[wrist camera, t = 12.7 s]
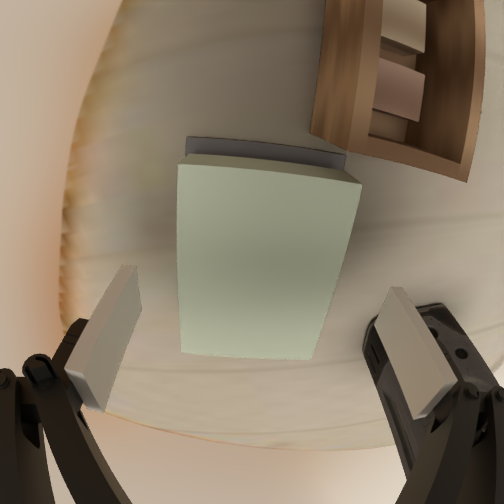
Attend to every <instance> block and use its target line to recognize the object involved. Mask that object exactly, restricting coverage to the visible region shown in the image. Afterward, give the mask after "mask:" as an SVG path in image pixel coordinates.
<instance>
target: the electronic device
mask: <svg viewBox="0 0 504 504" xmlns="http://www.w3.org/2000/svg"><path fill="white" fill-rule="evenodd" d="M417 311H418V313H419V314H420V316H421V317H422V319H423V321H424V322H425V324H426V325H427V327H428V329H429V330H430V332H431V334H432V335H433V337H434V339H436V338H438V339H439V340H440V341H441V342H442V343H443V344H444V345H445V347H446V349H447V350H448V352H449V354H450V356H451V357H452V361H454V363H455V364H456V366H457V368H458V370H459V372H460V373H461V375H462V377H463V379H464V381H465V382H470V383H473V384H474V385H476V386H477V388H478V389H479V391H482V392H489V391H490V390H491V389H492V388H493V387H494V386H499V384H498V382H497V380H496V379H495V377H494V375H493V374H492V372H491V371H490V369H489V367H488V366H487V364H486V363H485V361H484V360H483V358H482V357H481V355H480V354H479V352H478V351H477V349H476V348H475V346H474V345H473V343H472V342H471V340H470V339H469V337H468V336H467V335H466V333H465V332H464V330H463V329H462V328H461V326H460V325H459V323H458V322H457V321H456V319H455V318H454V317H453V315H452V314H451V313H450V311H449V310H448V309H447V307H446V306H444V305H435V306H430V307H424V308H419V309H417ZM375 322H376V320H374V321H373V322H372V324H371V325H370V327H369V329H368V332H367V336H366V340H365V344H364V347H363V355H364V357H365V360H366V362H367V365H368V368H369V370H370V373H371V375H372V378H373V381H374V383H375V386H376V389H377V391H378V394H379V397H380V400H381V402H382V405H383V408H384V411H385V414H386V417H387V420H388V422H389V425H390V428H391V431H392V434H393V437H394V440H395V443H396V446H397V449H398V453H399V456H400V459H401V463H402V466H403V469H404V472H405V476H406V479H408V477H409V475H410V472H411V470H412V468H413V466H414V463H415V461H416V458H417V456H418V454H419V451H420V448H421V446H422V443H423V441H424V438H425V435H426V432H427V429H428V427H429V424H428V425H427V426H426V427H425V428H423V426H424V425H425V424H426V423H427V422H428V421H429V420H430V419H431V418H432V417H433V416H434V411H433V410H432V411H431V412H430V413H429V414H428V415H427V416H426V417H422V418H418V419H414V420H413V417H412V415H411V412H410V409H409V407H408V404H407V401H406V399H405V396H404V394H403V391H402V389H401V386H400V384H399V381H398V379H397V376H396V374H395V371H394V369H393V367H392V364H391V362H390V360H389V357H388V355H387V353H386V350H385V348H384V346H383V344H382V341H381V339H380V337H379V335H378V332H377V330H376V328H375V326H374V324H375ZM487 429H488V424H487V425H486V426H485V427H484V430H485V431H486V430H487Z"/></svg>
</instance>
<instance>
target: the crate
mask: <svg viewBox="0 0 504 504" xmlns="http://www.w3.org/2000/svg"><path fill="white" fill-rule="evenodd" d="M485 53H486V35H485V12H484V0H326V8H325V18H324V27H323V36H322V45H321V54H320V62H319V70H318V78H317V86H316V93H315V100H314V108H313V115H312V122H311V128H310V134H313V135H315V136H317V137H319V138H321V139H323V140H325V141H328V142H330V143H332V144H334V145H336V146H338V147H340V148H342V149H344V150H346V151H349V152H354V153H359V154H364V155H368V156H373V157H377V158H382V159H386V160H390V161H394V162H398V163H402V164H406V165H410V166H413V167H417V168H421V169H424V170H428V171H431V172H434V173H438V174H441V175H444V176H448V177H451V178H454V179H457V180H460V181H463V182H466V183H467V180H468V176H469V172H470V168H471V164H472V159H473V154H474V150H475V145H476V139H477V134H478V128H479V122H480V115H481V107H482V99H483V89H484V76H485Z"/></svg>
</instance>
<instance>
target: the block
mask: <svg viewBox="0 0 504 504" xmlns="http://www.w3.org/2000/svg"><path fill="white" fill-rule="evenodd" d="M362 186H363V185H362V184H361V183H360V182H358V181H357V180H356V179H354V178H353V177H352V176H350V175H349V174H348V173H346V172H345V171H342V170H336V169H330V168H324V167H318V166H311V165H304V164H297V163H289V162H281V161H273V160H264V159H255V158H245V157H234V156H221V155H207V154H190V153H189V154H188V155H187V156H186V157H185V158H184V159H183V160H182V161H181V162H180V163H179V164H178V179H177V280H178V305H179V323H180V339H181V352H182V353H189V354H199V355H210V356H222V357H237V358H255V359H288V360H311V358H312V355H313V352H314V350H315V347H316V344H317V341H318V338H319V336H320V333H321V330H322V327H323V324H324V321H325V318H326V315H327V312H328V309H329V306H330V303H331V300H332V297H333V294H334V290H335V287H336V284H337V281H338V277H339V274H340V271H341V267H342V264H343V260H344V257H345V253H346V250H347V246H348V242H349V239H350V235H351V231H352V227H353V223H354V219H355V215H356V211H357V207H358V203H359V199H360V195H361V190H362Z"/></svg>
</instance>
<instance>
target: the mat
mask: <svg viewBox="0 0 504 504" xmlns="http://www.w3.org/2000/svg"><path fill="white" fill-rule="evenodd" d="M189 153H190V154H207V155H221V156H234V157H245V158H255V159H264V160H273V161H281V162H289V163H297V164H304V165H311V166H318V167H324V168H330V169H336V170H342V171H343V170H344V165H345V159H346V155H343V154H338V153H332V152H327V151H321V150H315V149H308V148H302V147H295V146H288V145H280V144H272V143H264V142H254V141H244V140H233V139H220V138H205V137H186V151H185V157H186V156H187V155H188V154H189Z"/></svg>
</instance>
